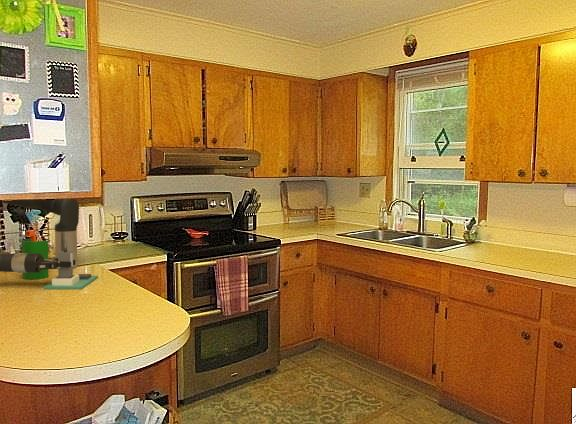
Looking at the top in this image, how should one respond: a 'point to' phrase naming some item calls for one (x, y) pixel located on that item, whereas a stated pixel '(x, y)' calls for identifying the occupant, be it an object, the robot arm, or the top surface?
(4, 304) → the top surface
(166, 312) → the top surface
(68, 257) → the plug
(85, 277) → the board
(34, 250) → the green pen holder
